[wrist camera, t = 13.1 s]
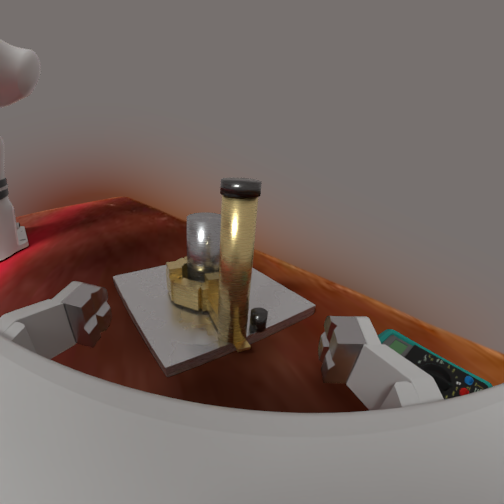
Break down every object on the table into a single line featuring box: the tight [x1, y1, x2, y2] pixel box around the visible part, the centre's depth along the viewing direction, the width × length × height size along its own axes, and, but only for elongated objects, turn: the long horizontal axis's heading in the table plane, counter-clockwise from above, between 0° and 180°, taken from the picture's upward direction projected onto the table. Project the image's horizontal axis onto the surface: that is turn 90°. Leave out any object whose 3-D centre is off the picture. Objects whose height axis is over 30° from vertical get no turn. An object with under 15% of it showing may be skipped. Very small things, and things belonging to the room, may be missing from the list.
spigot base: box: [113, 213, 316, 377], centre depth 30 cm, size 20×18×10 cm
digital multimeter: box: [378, 329, 493, 400], centre depth 19 cm, size 7×15×3 cm, turn 38°
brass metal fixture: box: [166, 178, 261, 343], centre depth 27 cm, size 14×8×14 cm, turn 25°
